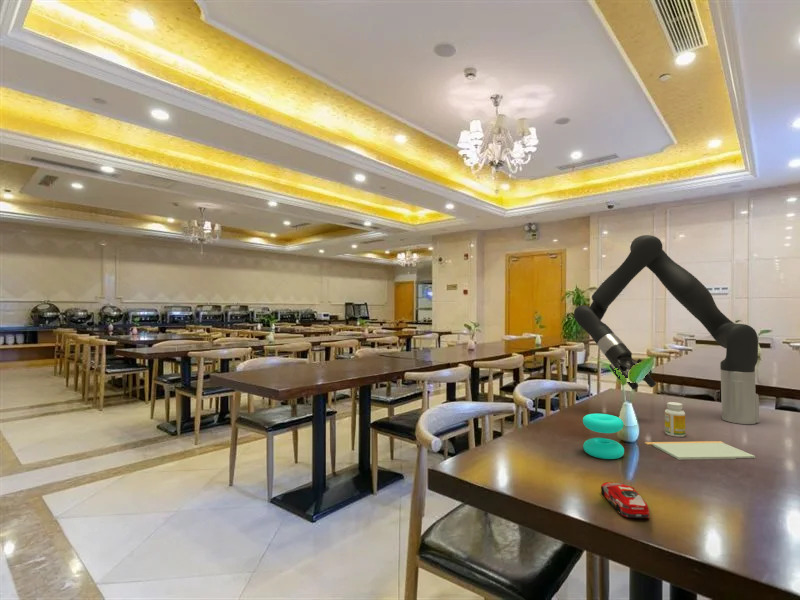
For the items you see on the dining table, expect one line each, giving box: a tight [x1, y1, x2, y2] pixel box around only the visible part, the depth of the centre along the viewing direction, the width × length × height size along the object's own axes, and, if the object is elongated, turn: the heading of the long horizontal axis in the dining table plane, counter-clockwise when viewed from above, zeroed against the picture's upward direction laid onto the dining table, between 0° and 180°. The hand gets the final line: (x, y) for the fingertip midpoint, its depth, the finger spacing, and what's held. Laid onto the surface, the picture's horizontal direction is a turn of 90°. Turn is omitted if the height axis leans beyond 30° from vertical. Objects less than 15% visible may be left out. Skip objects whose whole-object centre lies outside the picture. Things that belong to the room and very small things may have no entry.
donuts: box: [582, 413, 625, 460], centre depth 114 cm, size 10×10×10 cm
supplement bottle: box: [664, 401, 687, 438], centre depth 130 cm, size 5×5×10 cm
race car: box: [600, 481, 650, 519], centre depth 85 cm, size 13×5×4 cm, turn 173°
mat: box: [652, 442, 756, 461], centre depth 114 cm, size 20×11×1 cm, turn 90°
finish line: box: [644, 440, 725, 446], centre depth 121 cm, size 22×2×1 cm, turn 90°
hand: (645, 387), depth 139 cm, fingers open, 8 cm apart
